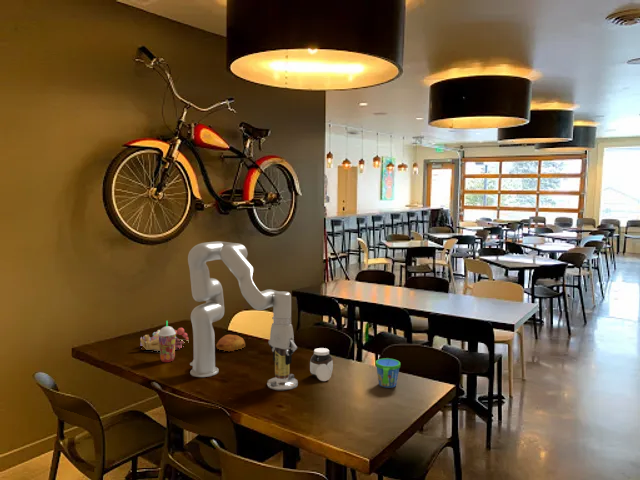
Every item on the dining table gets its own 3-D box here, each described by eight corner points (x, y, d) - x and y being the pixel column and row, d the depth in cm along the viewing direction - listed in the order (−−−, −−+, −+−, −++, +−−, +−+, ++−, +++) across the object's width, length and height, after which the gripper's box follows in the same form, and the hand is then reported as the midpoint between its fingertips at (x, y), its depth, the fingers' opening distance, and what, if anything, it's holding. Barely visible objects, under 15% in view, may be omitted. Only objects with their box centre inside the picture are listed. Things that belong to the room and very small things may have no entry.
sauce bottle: (274, 374, 206) (274, 329, 205) (289, 374, 207) (289, 329, 206) (274, 380, 200) (274, 333, 199) (289, 379, 200) (289, 333, 199)
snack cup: (395, 393, 194) (396, 369, 193) (370, 390, 198) (371, 366, 197) (403, 380, 209) (404, 358, 208) (380, 377, 213) (380, 355, 212)
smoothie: (155, 362, 232) (154, 321, 231) (166, 357, 240) (165, 318, 239) (168, 364, 229) (168, 323, 228) (180, 359, 237) (179, 319, 236)
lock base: (260, 385, 202) (260, 379, 202) (281, 376, 213) (281, 371, 213) (283, 393, 194) (283, 386, 194) (304, 383, 205) (304, 377, 205)
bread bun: (230, 346, 266) (229, 332, 266) (250, 347, 257) (249, 332, 257) (210, 352, 254) (208, 337, 255) (230, 353, 245) (228, 338, 245)
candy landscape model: (178, 354, 246) (178, 336, 246) (133, 353, 247) (133, 336, 246) (191, 340, 271) (191, 324, 271) (150, 340, 271) (150, 324, 271)
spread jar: (323, 370, 221) (323, 346, 220) (341, 377, 213) (341, 351, 212) (304, 377, 213) (304, 351, 212) (322, 383, 205) (322, 357, 204)
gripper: (261, 319, 204) (261, 360, 205) (292, 325, 194) (291, 368, 195) (273, 316, 210) (273, 356, 211) (303, 322, 199) (303, 364, 201)
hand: (282, 361), depth 203 cm, fingers closed on sauce bottle, 6 cm apart
